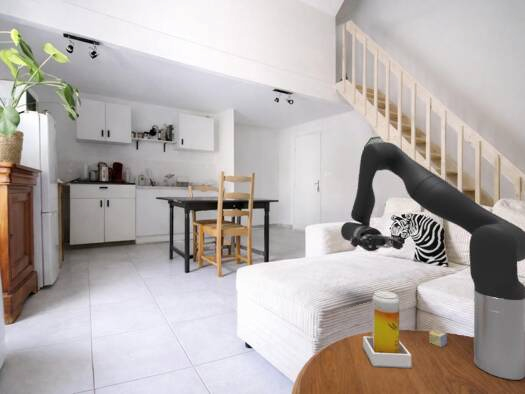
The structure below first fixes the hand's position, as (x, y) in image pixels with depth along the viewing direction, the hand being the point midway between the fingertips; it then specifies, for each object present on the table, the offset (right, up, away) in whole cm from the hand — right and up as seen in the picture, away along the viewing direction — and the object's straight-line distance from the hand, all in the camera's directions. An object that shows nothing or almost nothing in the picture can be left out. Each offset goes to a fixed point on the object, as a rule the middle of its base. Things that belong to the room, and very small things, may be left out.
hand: (383, 245), depth 82 cm
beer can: (-3, -26, -9) cm, 28 cm away
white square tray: (-3, -26, -10) cm, 28 cm away
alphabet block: (+14, -26, -2) cm, 30 cm away
